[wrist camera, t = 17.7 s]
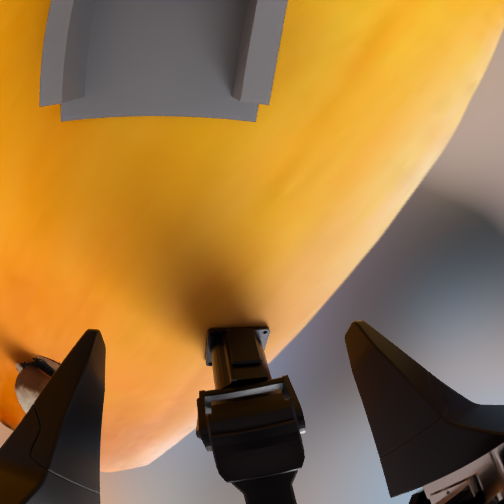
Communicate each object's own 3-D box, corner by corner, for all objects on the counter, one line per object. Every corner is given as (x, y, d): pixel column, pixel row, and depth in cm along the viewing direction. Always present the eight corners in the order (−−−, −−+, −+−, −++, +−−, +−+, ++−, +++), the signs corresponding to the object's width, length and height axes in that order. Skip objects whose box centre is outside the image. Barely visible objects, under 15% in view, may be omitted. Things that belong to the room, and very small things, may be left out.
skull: (108, 397, 32) (74, 446, 27) (79, 366, 38) (50, 409, 32) (44, 354, 25) (7, 412, 19) (28, 324, 30) (-4, 373, 25)
